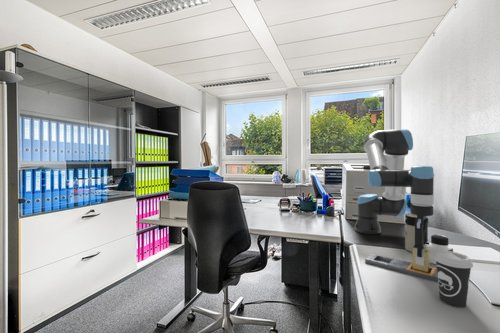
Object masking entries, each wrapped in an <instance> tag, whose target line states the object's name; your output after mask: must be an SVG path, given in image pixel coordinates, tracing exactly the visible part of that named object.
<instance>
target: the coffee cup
mask: <svg viewBox="0 0 500 333" xmlns="http://www.w3.org/2000/svg"><path fill="white" fill-rule="evenodd" d="M434 259H435V260H436V264H437V265H436V264H435V265H436V269H437V274H438V282H437V284H438V294H439V300H440V301H441V302H442V303H443V304H446V305H448V306H450V307H453V308H465V307H466V306H467V300H468V293H469V284H470V277H471V269H473V267H474V265H473V262H472V260H471V258H470V257H469V256H468V255H466V254H463V253H460V252H456V251H453V252H451V251H439V252H437V254H436V255H435V257H434Z"/></svg>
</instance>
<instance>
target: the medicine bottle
mask: <svg viewBox="0 0 500 333" xmlns="http://www.w3.org/2000/svg"><path fill="white" fill-rule="evenodd" d="M427 249H430V264H434V265H436V266H437V264H436V260H435V259H434V257H435V255H436V254H437V252H439V251H451V252H454V248H453V247H451V246H449V238H448V237H447V236H446V235H442V234H433V235H432V234H431V236H430V244H429V245H427Z"/></svg>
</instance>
